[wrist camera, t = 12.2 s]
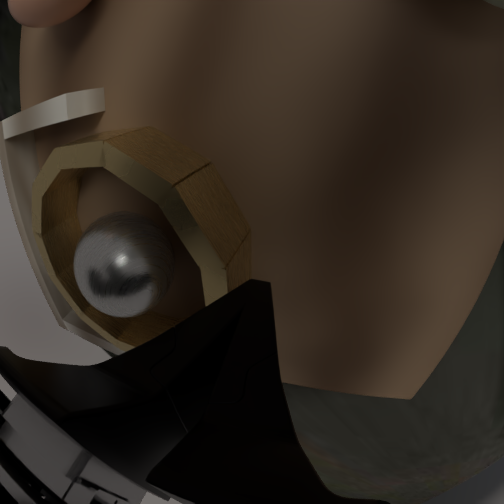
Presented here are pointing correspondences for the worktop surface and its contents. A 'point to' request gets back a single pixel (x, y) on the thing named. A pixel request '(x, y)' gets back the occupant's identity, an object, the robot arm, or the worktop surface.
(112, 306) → the steel ball
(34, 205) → the race ring
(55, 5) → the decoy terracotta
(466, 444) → the worktop surface
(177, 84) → the board
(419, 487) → the worktop surface
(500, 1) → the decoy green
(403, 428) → the worktop surface
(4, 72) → the worktop surface
